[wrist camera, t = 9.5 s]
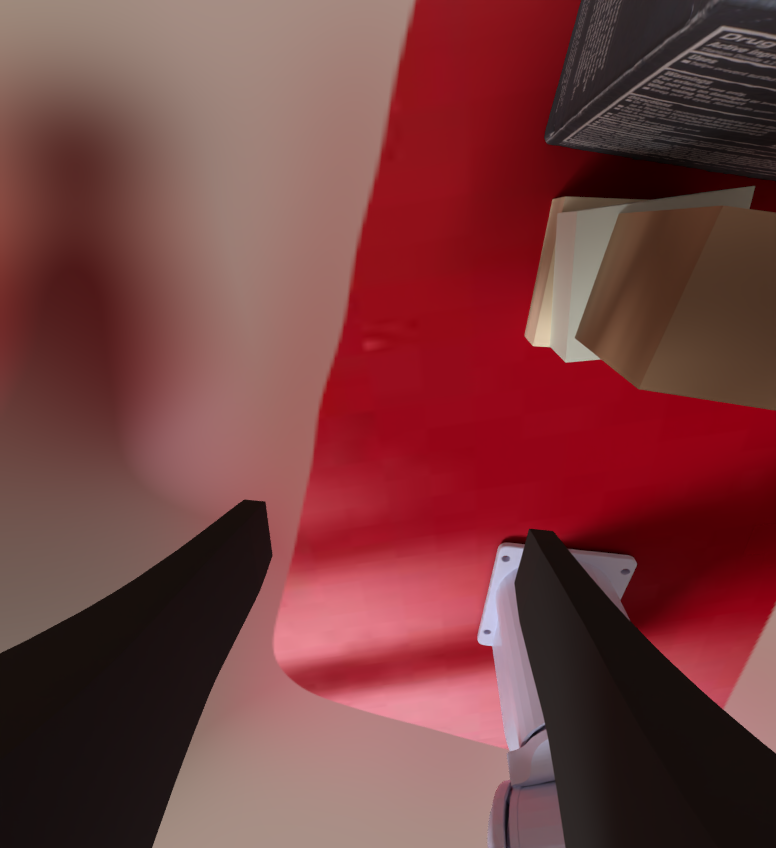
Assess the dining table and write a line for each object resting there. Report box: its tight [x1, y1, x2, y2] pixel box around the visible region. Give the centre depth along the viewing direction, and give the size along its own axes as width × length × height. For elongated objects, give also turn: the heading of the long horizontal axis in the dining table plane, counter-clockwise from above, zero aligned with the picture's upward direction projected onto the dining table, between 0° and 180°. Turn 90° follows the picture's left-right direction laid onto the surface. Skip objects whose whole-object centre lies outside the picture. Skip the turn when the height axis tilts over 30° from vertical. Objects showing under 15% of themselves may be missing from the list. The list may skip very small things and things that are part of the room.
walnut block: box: [575, 205, 776, 410], centre depth 11 cm, size 4×4×5 cm
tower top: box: [550, 186, 755, 362], centre depth 14 cm, size 5×5×2 cm
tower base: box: [525, 197, 646, 347], centre depth 16 cm, size 6×6×2 cm
